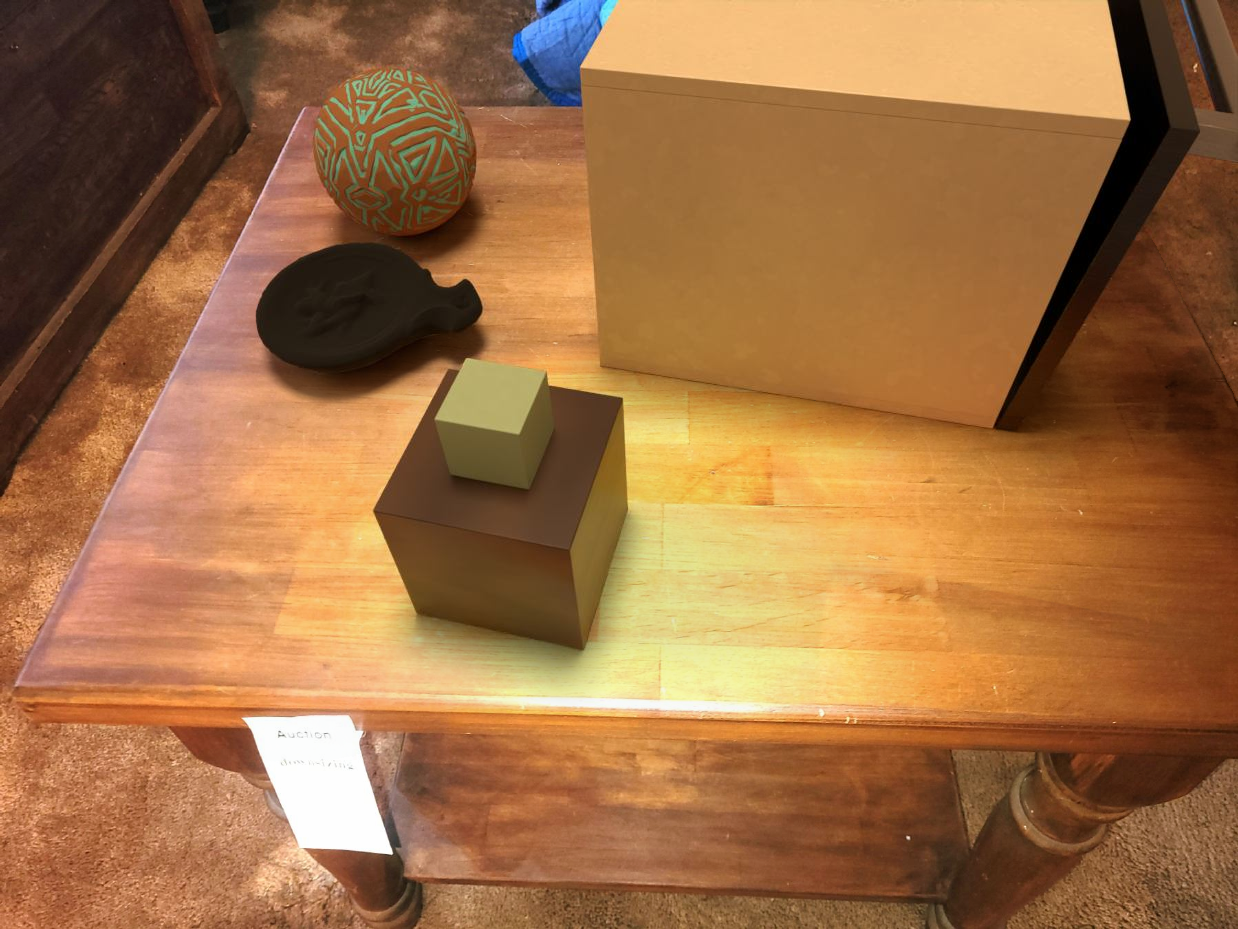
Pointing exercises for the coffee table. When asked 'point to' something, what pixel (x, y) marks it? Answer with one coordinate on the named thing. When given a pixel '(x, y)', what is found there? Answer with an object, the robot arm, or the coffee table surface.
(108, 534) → the coffee table surface
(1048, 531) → the coffee table surface
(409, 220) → the decorative sphere
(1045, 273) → the oven
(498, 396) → the block
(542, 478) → the stand
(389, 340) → the oil lamp
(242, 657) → the coffee table surface
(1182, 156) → the oven door
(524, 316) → the coffee table surface
